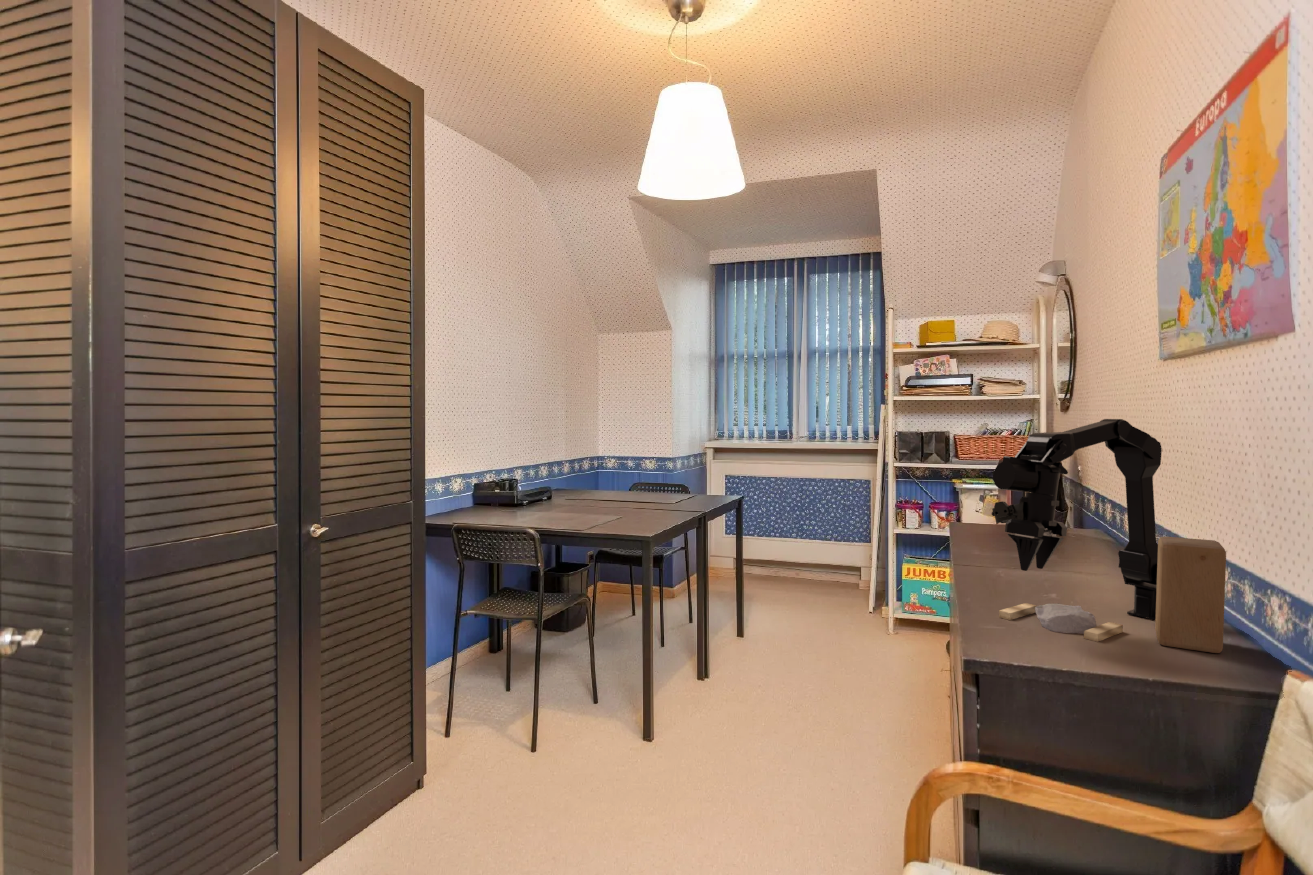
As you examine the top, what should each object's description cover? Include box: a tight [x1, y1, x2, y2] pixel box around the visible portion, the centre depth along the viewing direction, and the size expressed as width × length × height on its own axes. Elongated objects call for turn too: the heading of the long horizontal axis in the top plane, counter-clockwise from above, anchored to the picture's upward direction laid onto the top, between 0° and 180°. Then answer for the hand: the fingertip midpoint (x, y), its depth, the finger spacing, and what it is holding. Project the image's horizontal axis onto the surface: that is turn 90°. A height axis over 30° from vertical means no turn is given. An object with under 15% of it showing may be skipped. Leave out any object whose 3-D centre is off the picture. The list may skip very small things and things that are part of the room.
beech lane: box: [998, 602, 1124, 643], centre depth 153 cm, size 11×20×2 cm, turn 35°
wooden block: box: [1154, 536, 1227, 654], centre depth 140 cm, size 10×10×20 cm
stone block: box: [1035, 603, 1097, 635], centre depth 153 cm, size 12×5×10 cm
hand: (1032, 569), depth 149 cm, fingers open, 9 cm apart
